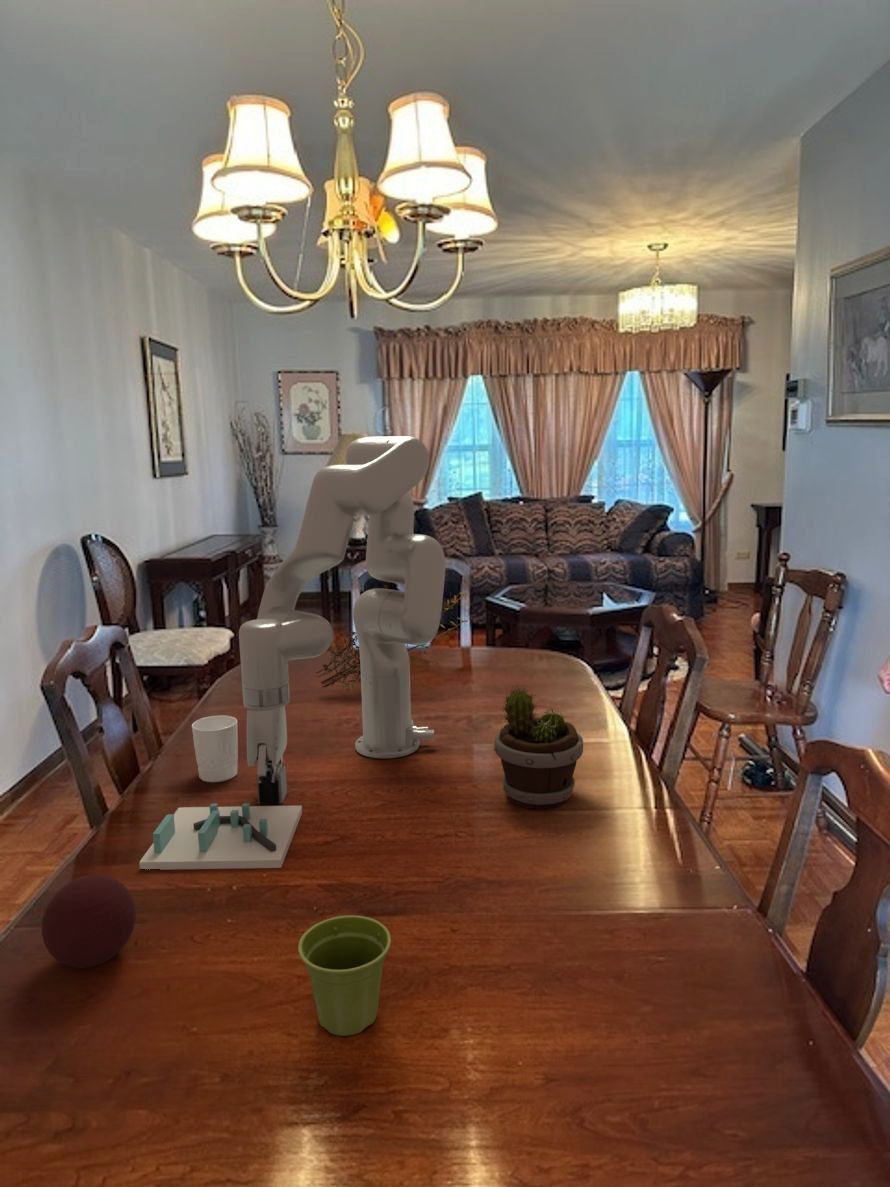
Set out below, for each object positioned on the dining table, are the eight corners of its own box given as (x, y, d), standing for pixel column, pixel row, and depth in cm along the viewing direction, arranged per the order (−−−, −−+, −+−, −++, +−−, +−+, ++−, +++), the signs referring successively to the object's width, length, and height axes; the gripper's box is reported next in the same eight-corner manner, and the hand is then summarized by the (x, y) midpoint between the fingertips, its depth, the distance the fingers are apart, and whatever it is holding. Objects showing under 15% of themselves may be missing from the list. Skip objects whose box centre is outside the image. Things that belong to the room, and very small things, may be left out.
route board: (302, 812, 128) (301, 805, 128) (281, 867, 111) (280, 859, 111) (179, 814, 128) (178, 807, 128) (140, 870, 111) (139, 862, 111)
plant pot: (306, 988, 87) (302, 917, 85) (392, 982, 87) (390, 911, 86) (298, 1053, 77) (293, 974, 76) (394, 1045, 78) (391, 967, 76)
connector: (287, 792, 135) (285, 762, 134) (282, 803, 131) (280, 771, 130) (263, 793, 135) (261, 762, 134) (258, 803, 131) (256, 772, 130)
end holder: (218, 832, 119) (216, 813, 119) (206, 852, 114) (204, 833, 113) (168, 832, 119) (167, 814, 119) (154, 853, 114) (152, 833, 113)
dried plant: (289, 640, 169) (475, 547, 172) (295, 621, 199) (453, 542, 203) (353, 761, 173) (532, 668, 177) (350, 724, 204) (503, 645, 208)
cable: (296, 835, 118) (296, 830, 118) (272, 852, 113) (272, 846, 113) (217, 814, 125) (217, 809, 125) (192, 829, 120) (191, 824, 120)
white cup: (228, 785, 139) (224, 731, 137) (187, 782, 140) (183, 729, 138) (248, 767, 146) (244, 716, 144) (209, 764, 148) (205, 714, 146)
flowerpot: (592, 785, 136) (594, 674, 132) (567, 824, 123) (569, 702, 119) (513, 772, 142) (513, 665, 138) (481, 808, 129) (480, 690, 125)
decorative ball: (147, 966, 91) (140, 887, 89) (51, 999, 85) (41, 916, 84) (130, 923, 99) (123, 850, 97) (42, 950, 94) (32, 874, 92)
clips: (275, 816, 124) (274, 802, 124) (264, 842, 116) (263, 827, 116) (212, 817, 124) (211, 803, 124) (196, 843, 116) (195, 828, 116)
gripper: (255, 679, 138) (261, 777, 142) (230, 711, 122) (237, 821, 125) (298, 678, 138) (303, 776, 142) (278, 710, 122) (285, 820, 125)
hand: (272, 796), depth 133 cm, fingers closed on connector, 3 cm apart
